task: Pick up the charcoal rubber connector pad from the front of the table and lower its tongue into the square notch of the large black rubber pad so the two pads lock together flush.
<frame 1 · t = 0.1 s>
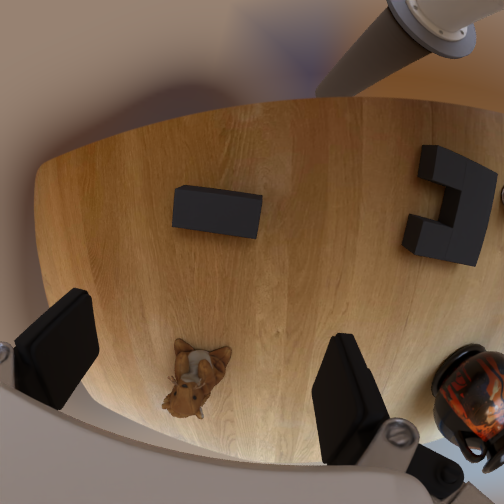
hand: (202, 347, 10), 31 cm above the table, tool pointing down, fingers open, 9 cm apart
connector pad: (220, 207, 40), on the table
base pad: (446, 205, 38), on the table
amphora vase: (457, 369, 49), on the table
stuffed squirrel: (199, 364, 49), on the table
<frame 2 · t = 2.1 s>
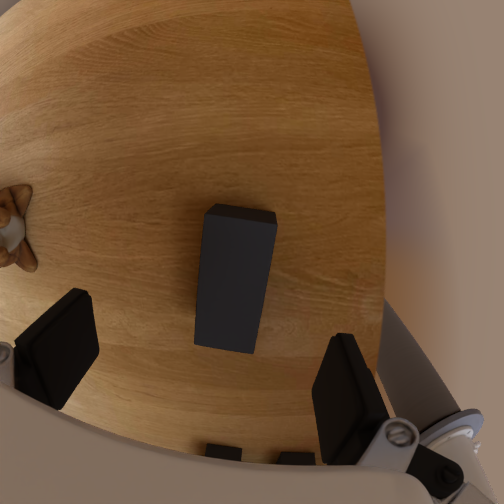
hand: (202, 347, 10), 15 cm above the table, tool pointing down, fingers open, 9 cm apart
connector pad: (236, 269, 25), on the table
base pad: (254, 469, 36), on the table
stuffed squirrel: (8, 219, 25), on the table
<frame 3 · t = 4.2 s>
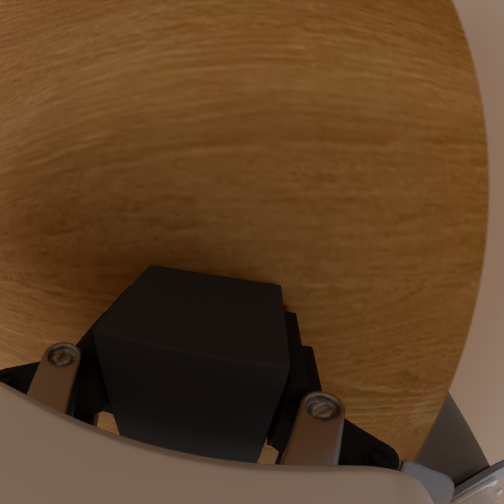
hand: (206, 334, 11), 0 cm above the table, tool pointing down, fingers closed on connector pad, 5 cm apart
connector pad: (204, 380, 12), on the table, touching gripper
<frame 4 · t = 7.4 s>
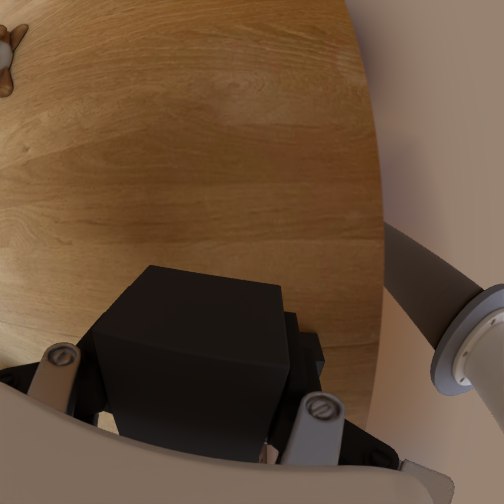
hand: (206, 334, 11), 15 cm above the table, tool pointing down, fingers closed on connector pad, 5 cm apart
connector pad: (204, 380, 12), point 15 cm above the table, touching gripper
base pad: (233, 374, 31), on the table
beer can: (264, 446, 36), on the table
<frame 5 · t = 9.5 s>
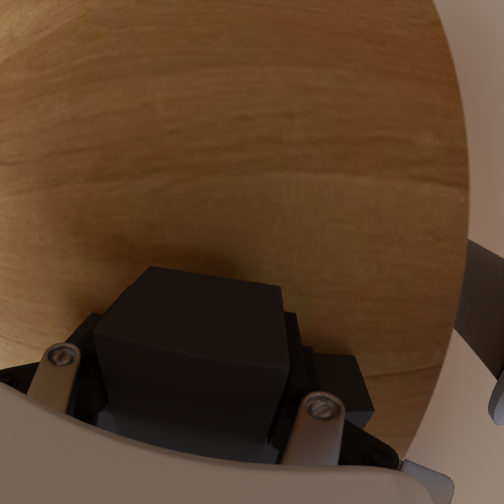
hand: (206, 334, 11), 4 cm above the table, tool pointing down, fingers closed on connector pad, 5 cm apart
connector pad: (204, 381, 12), point 3 cm above the table, touching gripper
base pad: (210, 415, 18), on the table
when the fingers open (0 cm above the table, at t = 10.9 s): connector pad stays where it is, on the table.
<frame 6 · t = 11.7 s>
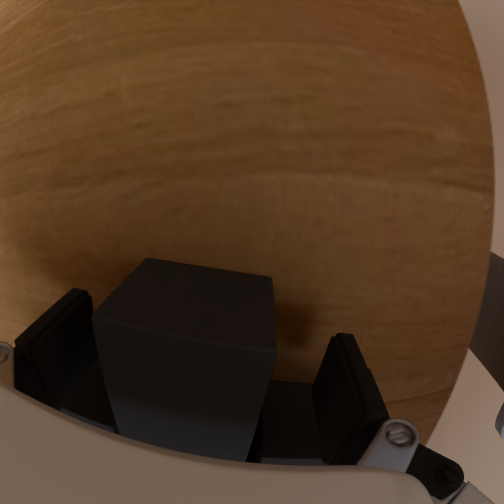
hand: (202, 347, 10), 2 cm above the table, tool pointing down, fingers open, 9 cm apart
connector pad: (199, 371, 13), on the table
base pad: (198, 443, 15), on the table
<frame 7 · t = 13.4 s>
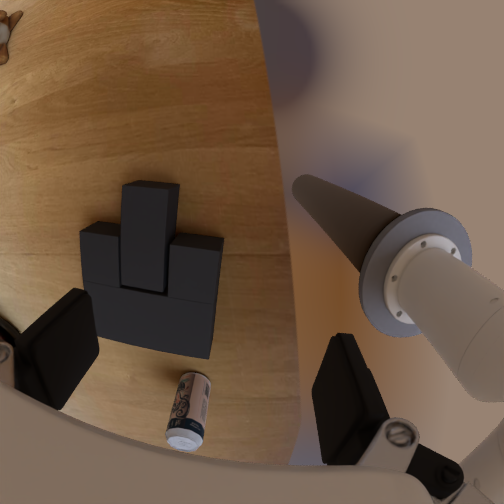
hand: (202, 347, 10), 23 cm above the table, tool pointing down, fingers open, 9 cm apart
connector pad: (155, 229, 32), on the table
base pad: (154, 282, 34), on the table
beer can: (195, 380, 40), on the table
amphora vase: (12, 347, 40), on the table
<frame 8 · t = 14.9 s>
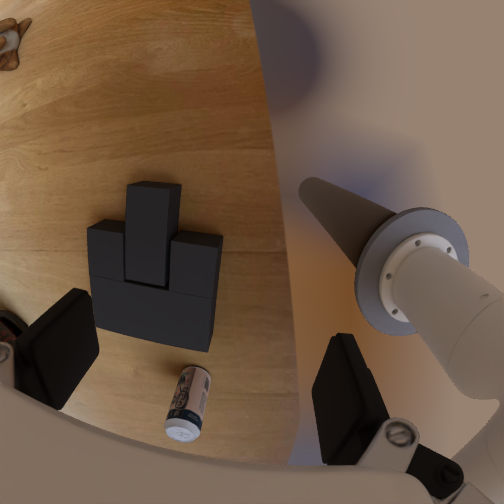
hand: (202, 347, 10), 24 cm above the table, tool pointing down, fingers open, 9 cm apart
connector pad: (158, 227, 34), on the table
base pad: (157, 278, 36), on the table
beer can: (196, 374, 42), on the table
amphora vase: (20, 341, 43), on the table
stuffed squirrel: (8, 48, 24), on the table
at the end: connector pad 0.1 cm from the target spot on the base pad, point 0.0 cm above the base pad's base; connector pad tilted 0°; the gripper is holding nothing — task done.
